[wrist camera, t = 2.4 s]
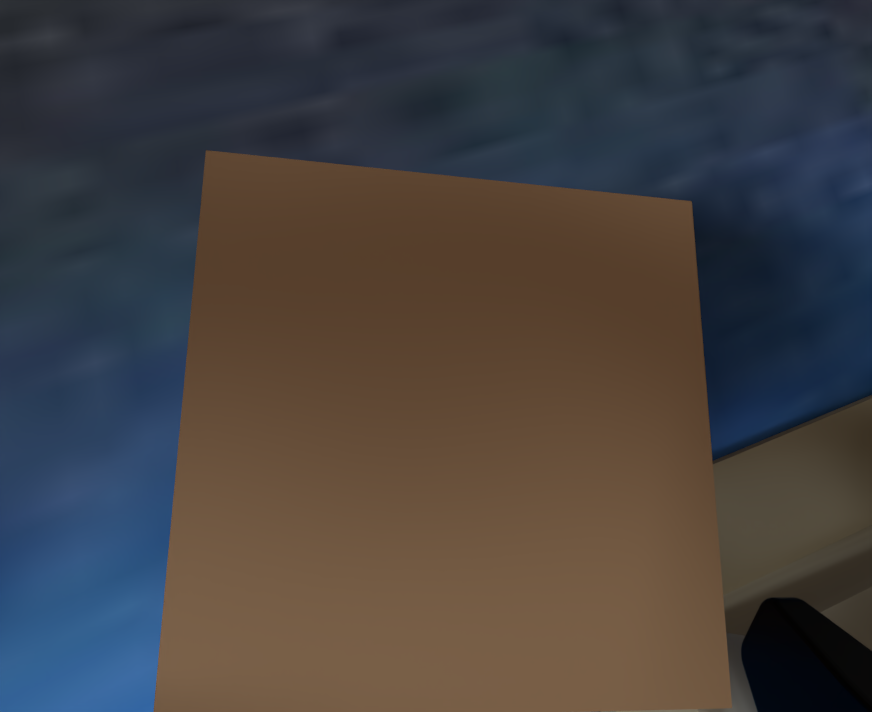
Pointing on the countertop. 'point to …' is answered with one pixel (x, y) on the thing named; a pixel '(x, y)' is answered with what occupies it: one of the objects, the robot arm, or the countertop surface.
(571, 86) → the countertop surface
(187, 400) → the wooden peg
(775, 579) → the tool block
